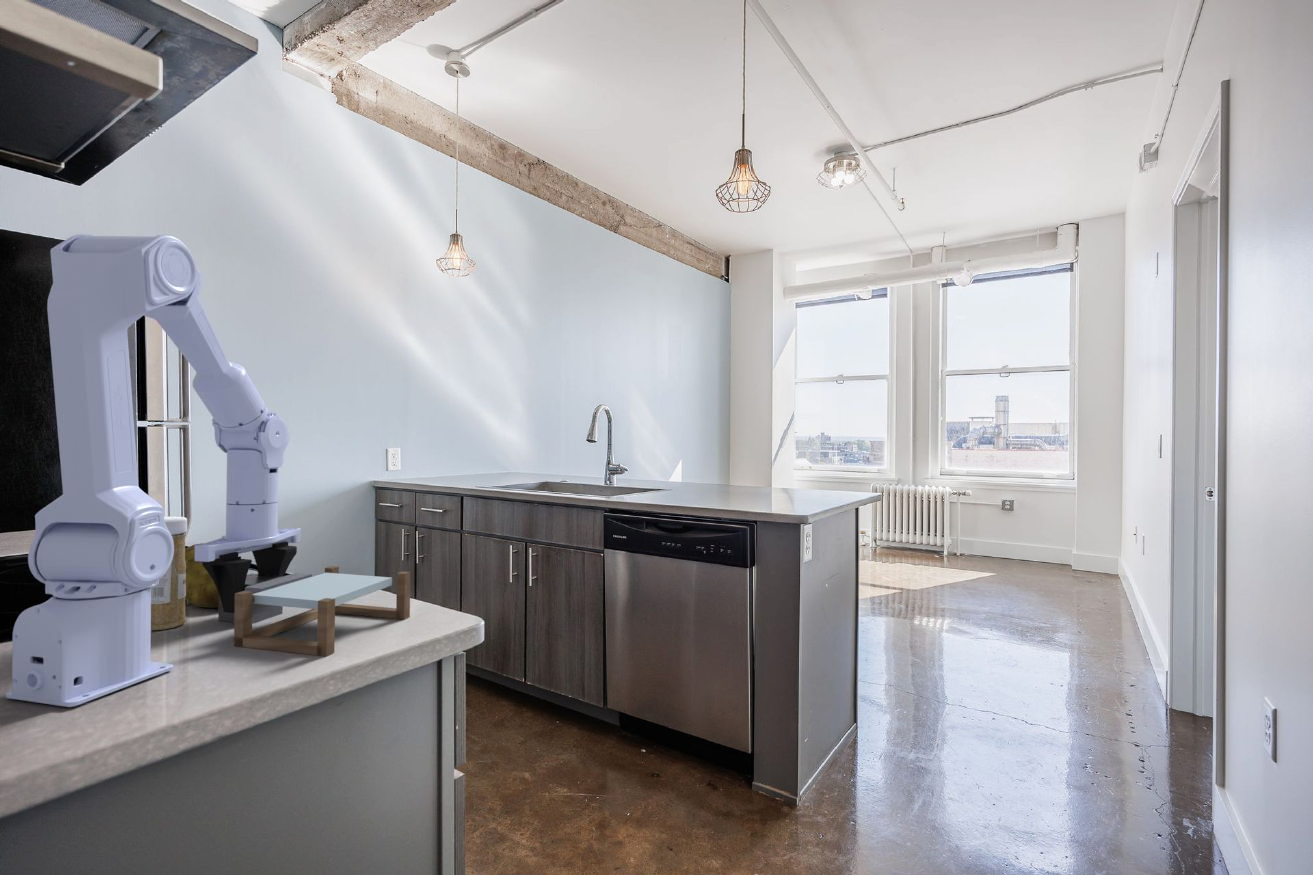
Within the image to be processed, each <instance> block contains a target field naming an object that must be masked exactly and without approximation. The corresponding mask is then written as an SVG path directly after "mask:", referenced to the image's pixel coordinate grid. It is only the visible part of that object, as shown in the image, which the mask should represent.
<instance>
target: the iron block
mask: <svg viewBox="0 0 1313 875" xmlns="http://www.w3.org/2000/svg"><path fill="white" fill-rule="evenodd" d="M280 577H283V576H275V575H263V574H258V573H249V574H248V573H247V577H246V581H245V587H247V586H251V585H254V584H258V583H262V582H265V581H269V580H273V579H276V578H280ZM245 587H244V591H245ZM283 607H284V606H275V605H264V604H253V603H252V625H253V624H255V623H258V622H262V621H264V620H266V619H271V618H273V617H275V616H279V615H281V614H282V615H283ZM217 613H218V616H217V617H218V619H217V621H218V622H226V623H234V620H235V613H228V612H224V610H223V606H222V602H221V599H220V596H219V607H218V612H217Z"/></svg>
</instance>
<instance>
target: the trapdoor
mask: <svg viewBox="0 0 1313 875" xmlns="http://www.w3.org/2000/svg"><path fill="white" fill-rule="evenodd" d="M392 586H393V577H391V576H390V577H387V576H378V575H377V576H376V575H375V576H374V575H365V574H364V575H363V574H361V575H360V574H351V573H350V574H349V573H340V572H339V573H325V572H323V573H320V574H316V575H313V573H302V572H294V573H292V574H287V575H284V576H283V577H280V578H276V579H273V580H269V581H265V582H262V583H258V584H254V585H251V586H247V587H245V591H251V592H253V595H252V603H253V604H264V605H275V606H283V607H285V608H286V607H287V608H298V609H308V610H311V609H318V601H319V600H322V599H325V598H331V599H335V606H338V605H340V604H347V603H348V602H351V601H354V600H356V599H360V598H362V597H364V596H367V595H369V594H373V593H375V592H378V591H380V590H383V589H385V588H389V587H392Z"/></svg>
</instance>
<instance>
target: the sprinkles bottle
mask: <svg viewBox="0 0 1313 875" xmlns="http://www.w3.org/2000/svg"><path fill="white" fill-rule="evenodd" d="M164 520H165V524H166V526H167V528H168V530H169V532H170V533H171V536H172V538H173V543H174V555H173V559H172V562H171V564H170V566H169V568H168V570H167V571H166V573H165V574H164V575H163V577H162V578H161V579H159V584H158V585H156V586H153V587H151V632H153V631H163V630H170V629H174V628H178V627H179V626H182V625H184V624H185V623H186V622H187V617H186V599H185V596H186V563H185V549H186V535H187V532H188V518H187V517H184V516H171V515H170V516H164Z"/></svg>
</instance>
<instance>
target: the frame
mask: <svg viewBox="0 0 1313 875" xmlns="http://www.w3.org/2000/svg"><path fill="white" fill-rule="evenodd" d="M339 570H340V567H339V566H336V565H335V566H334V565H333V566H331V565H330V566H327V567H324V573H339V574H340V571H339ZM252 595H253V592H251V591H242V592H238V593H235V620H234V622H233V623H234V625H233V626H234V628H233V629H234V632H233V634H234V635H233V638H234V639H233V645H234V646H233V647H241V648H248V649H249V648H250V649H258V650H268V651H276V652H286V653H292V654H293V653H294V654H302V655H304V654H305V655H310V656H311V655H313V656H320V657H323V656H324V657H328V656H331V655H332V654H334V653H335V642H336V641H335V635H336V634H335V633H336V630H335V629H336V628H335V626H336V625H335V624H336V614H340V615H341V614H342V615H351V616H361V615H364V616H363V617H371V616H372V618H373V617H374V618H382V617H385V618H384V619H395V620H406V618H407V619H409V618H410V617H411V616H410V615H411V611H410V610H411V571H400V572H396V603H395V604H396V606H395V607H387V606H377V605H374V606H373V605H363V604H362V605H361V604H351V603H343V604H340V605H338V606H335V599H331V598H325V599H322V600H319V601H318V609H308V610H306V611H303V612H301V613H298V614H295V615H293V616H292V615H291V616H289V617H287V618H284V619H282V620H278V621H276V622H273V623H270V624H267V625H264V626H261V627H260V628H257V629H253V624H252ZM408 617H409V618H408ZM315 620H317V630H316V631H317V633H316V634H317V635H316V638H317V641H313V640H312V641H311V640H304V639H294V638H284V637H274V636H275V635H278V634H280V633H283V632H286V631H289V630H291V629H293V628H296V627H298V626H302V625H304V624H306V623H309V622H312V621H315Z"/></svg>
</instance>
